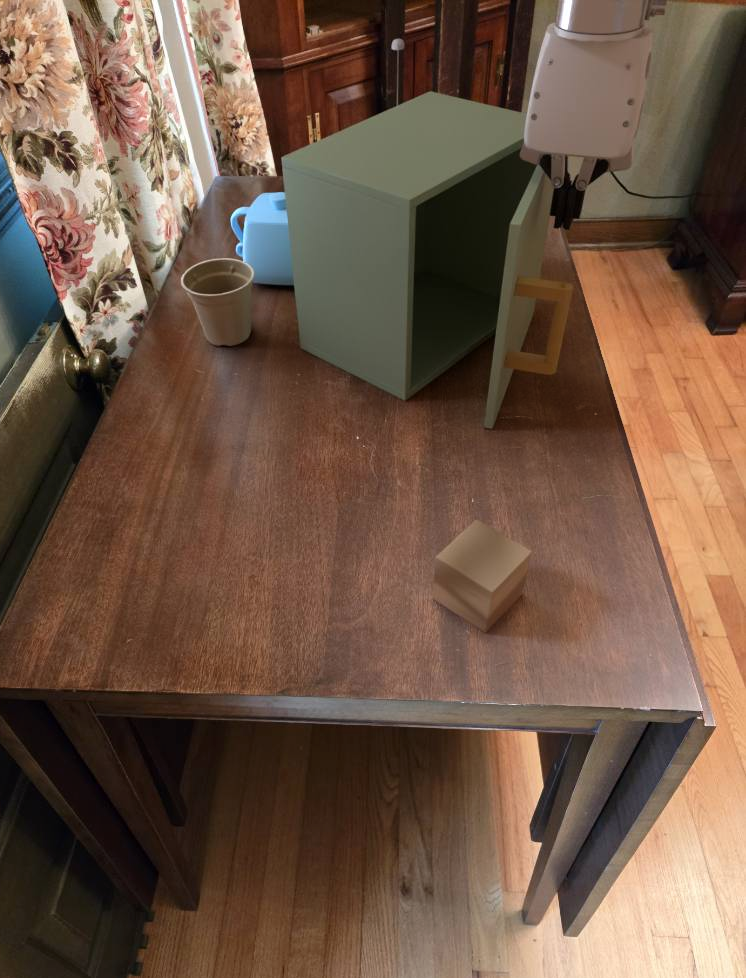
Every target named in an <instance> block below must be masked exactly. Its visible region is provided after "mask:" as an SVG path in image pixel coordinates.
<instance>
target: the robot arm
mask: <svg viewBox="0 0 746 978" xmlns="http://www.w3.org/2000/svg"><path fill="white" fill-rule="evenodd" d="M668 3H669V0H557V4H556V12H555V18H554V22H552V23H549V24H548V25H547V27H546V30H545V34H544V37H543V40H542V43H541V47H540V50H539V55H538V58H537V62H536V66H535V71H534V75H533V80H532V85H531V90H530V95H529V100H528V106H527V111H526V114H527V117H526V123H525V131H524V143H523V146H522V149H521V152H520V158H521V159H522V160H524V161H527V162H529V163H532V164H535V165H539V166H540V167H541V168H542V169H543V171H544V172H545V173H546V175H547V176H548V177H549V179H550V180H551V185H552V186H553V187H554V191H553V197H552V203H551V209H550V217H554V222H553V229H557V230H559V228H562V229H563V230H564V231H570V229H571V227H572V224H573V221H574V220H580V218H581V216H582V215H581V214H582V211H583V205H584V200H585V195H586V190H587V188H588V186H590V185H591V184H592V183H594V182H595V181H596V180H597V179H599V178H600V177H602V176H603V175H604V174H606V173H613V172H621V171H627V170H629V169H630V168H631V167H632V165H633V162H634V140H635V139H636V137H637V134H638V131H639V126H640V121H641V118H642V113H643V107H644V102H645V97H646V91H647V85H648V79H649V73H650V68H651V60H652V49H653V33H654V31H653V30H654V29H653V27H651V26H650V25H648V24H646V21H650V18H655V17H656V16H665V15H666V12H667V7H668ZM570 157H572V158H573V157H574V158H583V160H582V163H581V165H580V168H579V171H578V173H577V174H576V175H575V177H574V179H573V180H571V174H570V172H569V167H570V164H569V163H570V162H569V161H570Z"/></svg>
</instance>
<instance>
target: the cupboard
mask: <svg viewBox="0 0 746 978" xmlns="http://www.w3.org/2000/svg"><path fill="white" fill-rule="evenodd" d="M526 117H527V113H525V112H521V111H516V110H512V109H507V108H503V107H499V106H495V105H490V104H486V103H481V102H477V101H473V100H469V99H466V98H460V97H456V96H452V95H448V94H443V93H439V92H435V91H428V92H427V91H426V92H425V93H423V94H421V95H419V96H417V97H414V98H412V99H409V100H407V101H405V102H403V103H400V104H398V106H397V105H396V106H394V107H392V108H389V109H387V110H385V111H382V112H380V113H378V114H375V115H373V116H371V117H369V118H366V119H364V120H362V121H360V122H358V123H355V124H353V125H351V126H349V127H346V128H344V129H342V130H340V131H337V132H335V133H333V134H331V135H328V136H326V137H324V138H322V139H319V140H317V141H315V142H313V143H312V142H311V143H310V144H307V145H306V146H303V147H301V148H299V149H297V150H294V151H292V152H290V153H288V154H285V155H283V156H281V166H282V167H281V168H282V177H283V187H284V193H285V199H286V209H287V219H288V229H289V239H290V249H291V259H292V269H293V279H294V285H293V287H294V297H295V307H296V308H295V309H296V316H297V327H298V336H299V347H300V349H301V350H304V351H305V352H307V353H310V354H312V355H313V356H315V357H317V358H319V359H321V360H323V361H325V362H326V363H328V364H331V365H333V366H335V367H337V368H339V369H341V370H343V371H345V372H347V373H349V374H351V375H353V376H355V377H357V378H358V379H361V380H363V381H364V382H366V383H369V384H371V385H373V386H374V387H377V388H378V389H381V390H383V391H385V392H386V393H389V394H390V395H393V396H395V397H396V398H398V399H400V400H403V401H404V402H405V401H407V400H408V399H411V397H412V396H414V395H415V394H416V393H418V392H419V391H420V390H422V389H423V388H425V387H426V386H427V385H428V384H430V383H432V382H433V381H434V380H435V379H436V378H438V377H439V376H441V375H442V374H443V373H445V372H446V371H447V370H449V369H450V368H452V367H453V366H454V365H455V364H457V363H458V362H459V361H461V360H462V359H463V358H465V357H466V356H467V355H469V354H470V353H471V352H473V351H475V349H477V348H479V347H480V346H481V345H482V344H484V343H485V342H486V341H488V340H489V339H490V338H492V337H493V336H494V335H496V329H497V322H498V314H499V306H500V298H501V291H502V283H503V275H504V267H505V259H506V252H507V244H508V236H509V228H510V223H511V221H512V219H513V217H514V214H515V212H516V210H517V208H518V206H519V204H520V202H521V199H522V197H523V195H524V193H525V191H526V189H527V186H528V184H529V182H530V180H531V178H532V176H533V174H534V171H535V169H536V167H537V165H535V164H532V163H529V162H527V161H524V160H522V159H521V158H520V152H521V149H522V146H523V143H524V131H525V123H526Z"/></svg>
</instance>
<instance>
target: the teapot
mask: <svg viewBox="0 0 746 978" xmlns="http://www.w3.org/2000/svg"><path fill="white" fill-rule="evenodd" d="M240 216H245V218H244V225H243V226H244V227H243V230H242V229H241V226H240V224H239V222H238V217H240ZM230 225H231V228H232V231H233V232H234V234H235V236H236V238H237V239H238V240H239V242H238V243H237V244H236V247H235V252H236V254H237V255H238V257H240V258H242V261H243V262H245V263H247V264H249V265H250V266H251V267H252V268H253V270H254V279H253V281H252V284H253V283H254V284H259V285H260V284H261V285H273V286H274V285H275V286H294V279H293V269H292V259H291V249H290V239H289V229H288V219H287V209H286V199H285V191H278V192H263V193H260V195H258V196H257V197H256V198H255V199H254V200H253V202H252V203H251V205H250V206H241V207H239V208H237V209H235V211H233V213H232V215H231V217H230Z"/></svg>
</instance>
